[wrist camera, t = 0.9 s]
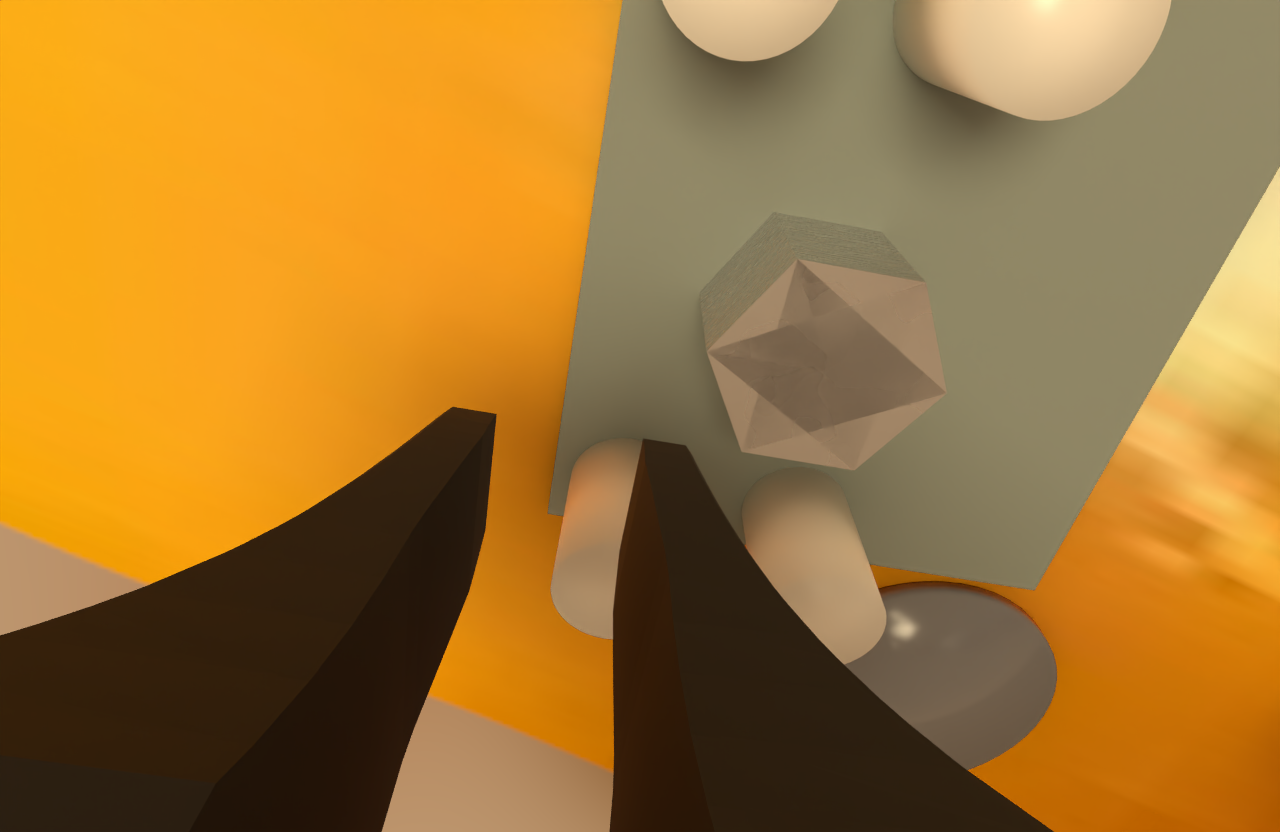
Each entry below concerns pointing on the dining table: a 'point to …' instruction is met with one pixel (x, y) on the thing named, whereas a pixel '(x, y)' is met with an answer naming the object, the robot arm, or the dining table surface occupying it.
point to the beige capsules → (803, 497)
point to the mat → (924, 258)
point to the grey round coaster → (960, 668)
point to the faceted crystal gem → (820, 342)
